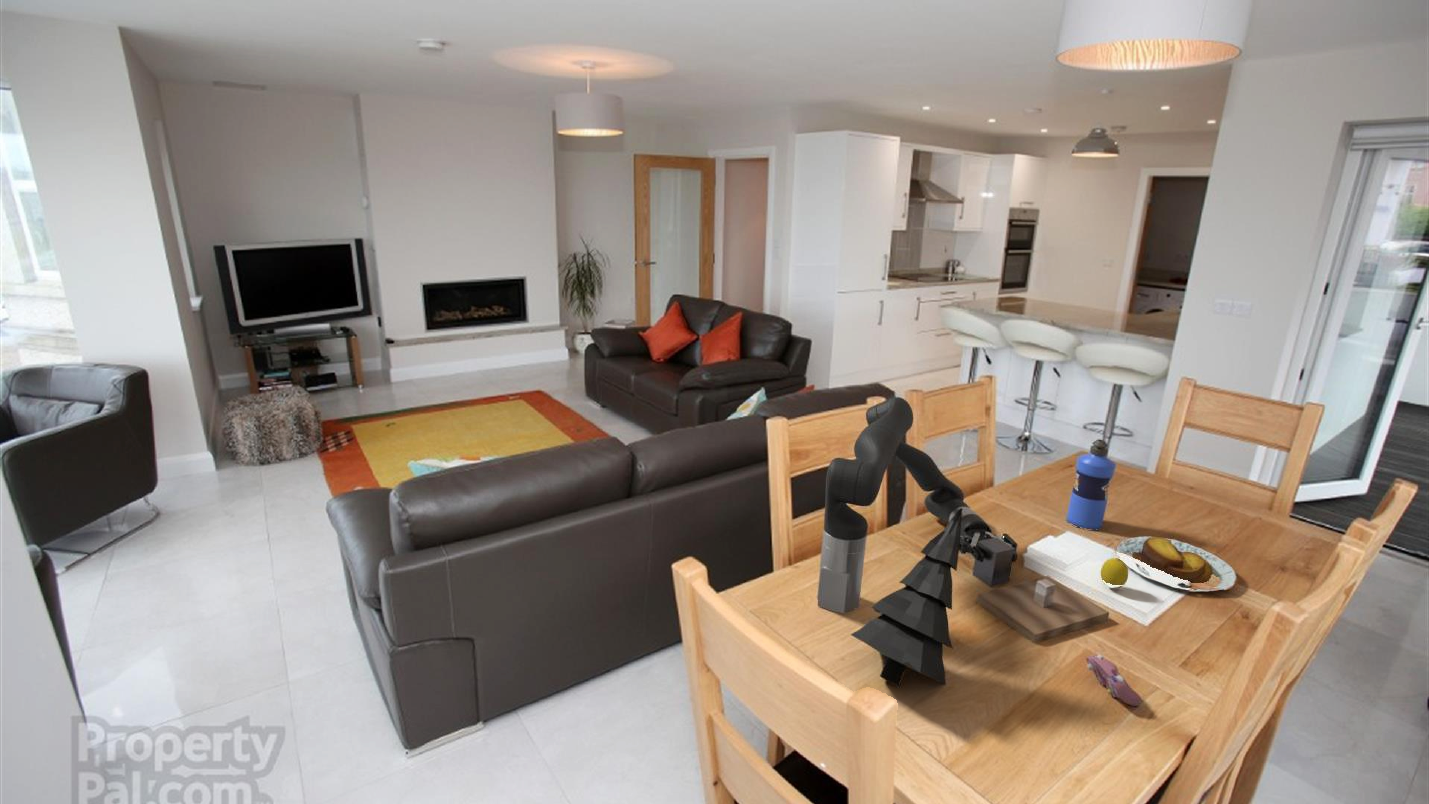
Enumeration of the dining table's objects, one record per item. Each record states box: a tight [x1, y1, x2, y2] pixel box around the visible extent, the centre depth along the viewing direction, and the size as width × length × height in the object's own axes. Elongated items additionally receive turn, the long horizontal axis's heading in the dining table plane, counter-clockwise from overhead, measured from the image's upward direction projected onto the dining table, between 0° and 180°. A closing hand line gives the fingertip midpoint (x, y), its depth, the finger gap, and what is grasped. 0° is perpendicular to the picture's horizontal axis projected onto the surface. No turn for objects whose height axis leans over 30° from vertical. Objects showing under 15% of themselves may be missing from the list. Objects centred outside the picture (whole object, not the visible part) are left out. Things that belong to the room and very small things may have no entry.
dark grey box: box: [972, 538, 1015, 588], centre depth 163 cm, size 6×6×9 cm
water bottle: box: [1065, 439, 1117, 531], centre depth 192 cm, size 9×9×25 cm
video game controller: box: [1085, 654, 1142, 707], centre depth 127 cm, size 10×5×7 cm, turn 5°
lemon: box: [1100, 557, 1129, 586], centre depth 161 cm, size 6×6×8 cm
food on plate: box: [1114, 535, 1239, 593], centre depth 171 cm, size 25×25×7 cm
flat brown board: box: [975, 575, 1110, 644], centre depth 151 cm, size 22×16×7 cm
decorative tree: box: [850, 508, 963, 687], centre depth 129 cm, size 15×15×35 cm
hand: (998, 558), depth 160 cm, fingers closed on dark grey box, 7 cm apart
